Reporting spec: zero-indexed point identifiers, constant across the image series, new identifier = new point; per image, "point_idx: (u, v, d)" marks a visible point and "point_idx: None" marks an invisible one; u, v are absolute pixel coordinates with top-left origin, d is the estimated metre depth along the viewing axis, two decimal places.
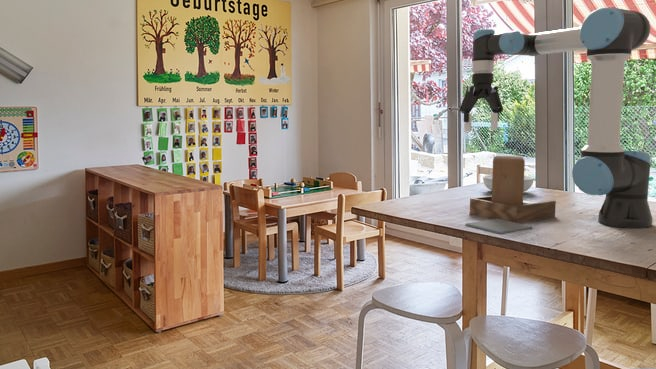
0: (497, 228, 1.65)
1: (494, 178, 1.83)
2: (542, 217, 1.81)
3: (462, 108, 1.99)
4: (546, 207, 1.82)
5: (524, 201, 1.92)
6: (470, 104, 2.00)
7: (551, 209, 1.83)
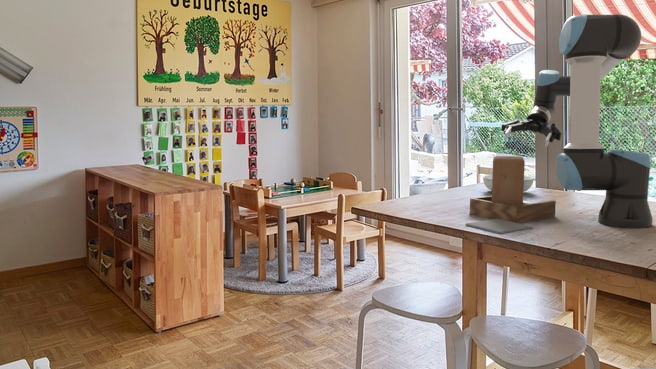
0: (497, 228, 1.65)
1: (494, 178, 1.83)
2: (542, 217, 1.81)
3: None
4: (546, 207, 1.82)
5: (524, 201, 1.92)
6: None
7: (551, 209, 1.83)
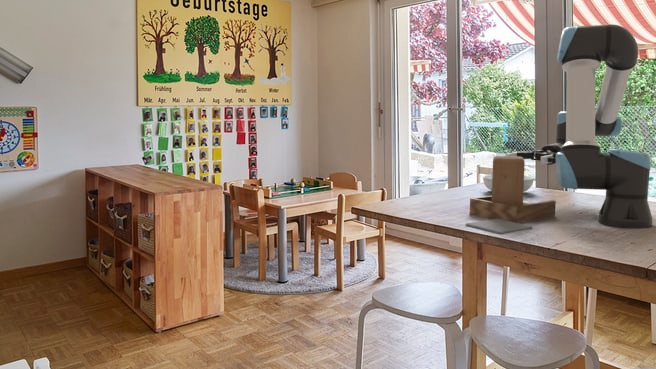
0: (497, 228, 1.65)
1: (494, 178, 1.83)
2: (542, 217, 1.81)
3: None
4: (546, 207, 1.82)
5: (524, 201, 1.92)
6: None
7: (551, 209, 1.83)
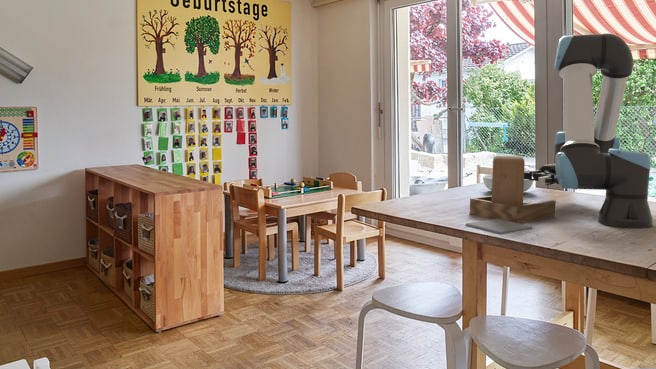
0: (497, 228, 1.65)
1: (494, 178, 1.83)
2: (542, 217, 1.81)
3: None
4: (546, 207, 1.82)
5: (525, 201, 1.92)
6: None
7: (551, 209, 1.83)
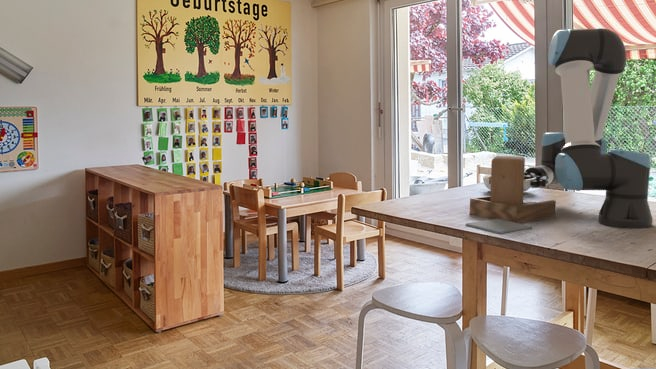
0: (497, 228, 1.65)
1: (492, 178, 1.83)
2: (542, 217, 1.81)
3: None
4: (546, 207, 1.82)
5: (524, 201, 1.92)
6: None
7: (551, 209, 1.83)
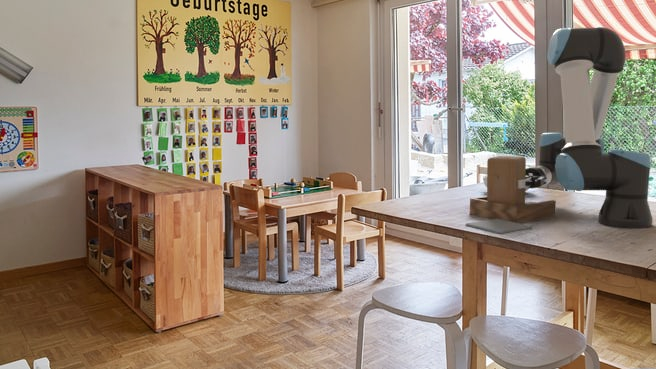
0: (497, 228, 1.65)
1: (488, 178, 1.84)
2: (542, 217, 1.81)
3: None
4: (546, 207, 1.82)
5: None
6: None
7: (551, 209, 1.83)
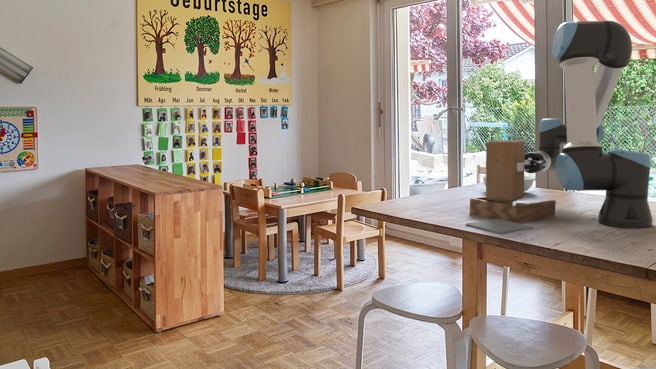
0: (497, 228, 1.65)
1: (487, 161, 1.84)
2: (542, 217, 1.81)
3: None
4: (546, 207, 1.82)
5: (522, 202, 1.91)
6: None
7: (551, 209, 1.83)
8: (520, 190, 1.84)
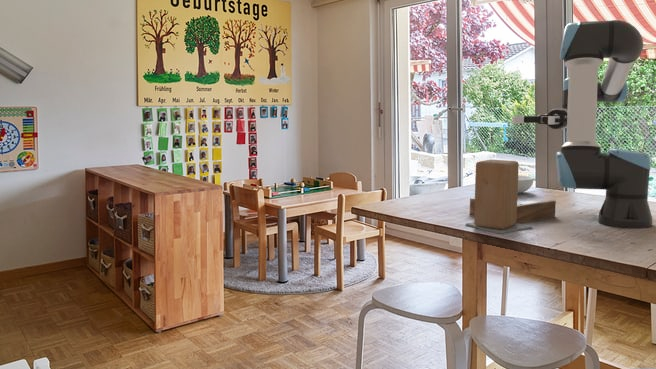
0: None
1: (476, 183, 1.67)
2: (542, 217, 1.81)
3: None
4: (546, 207, 1.82)
5: (525, 203, 1.89)
6: None
7: (551, 209, 1.83)
8: (512, 216, 1.66)
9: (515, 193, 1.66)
